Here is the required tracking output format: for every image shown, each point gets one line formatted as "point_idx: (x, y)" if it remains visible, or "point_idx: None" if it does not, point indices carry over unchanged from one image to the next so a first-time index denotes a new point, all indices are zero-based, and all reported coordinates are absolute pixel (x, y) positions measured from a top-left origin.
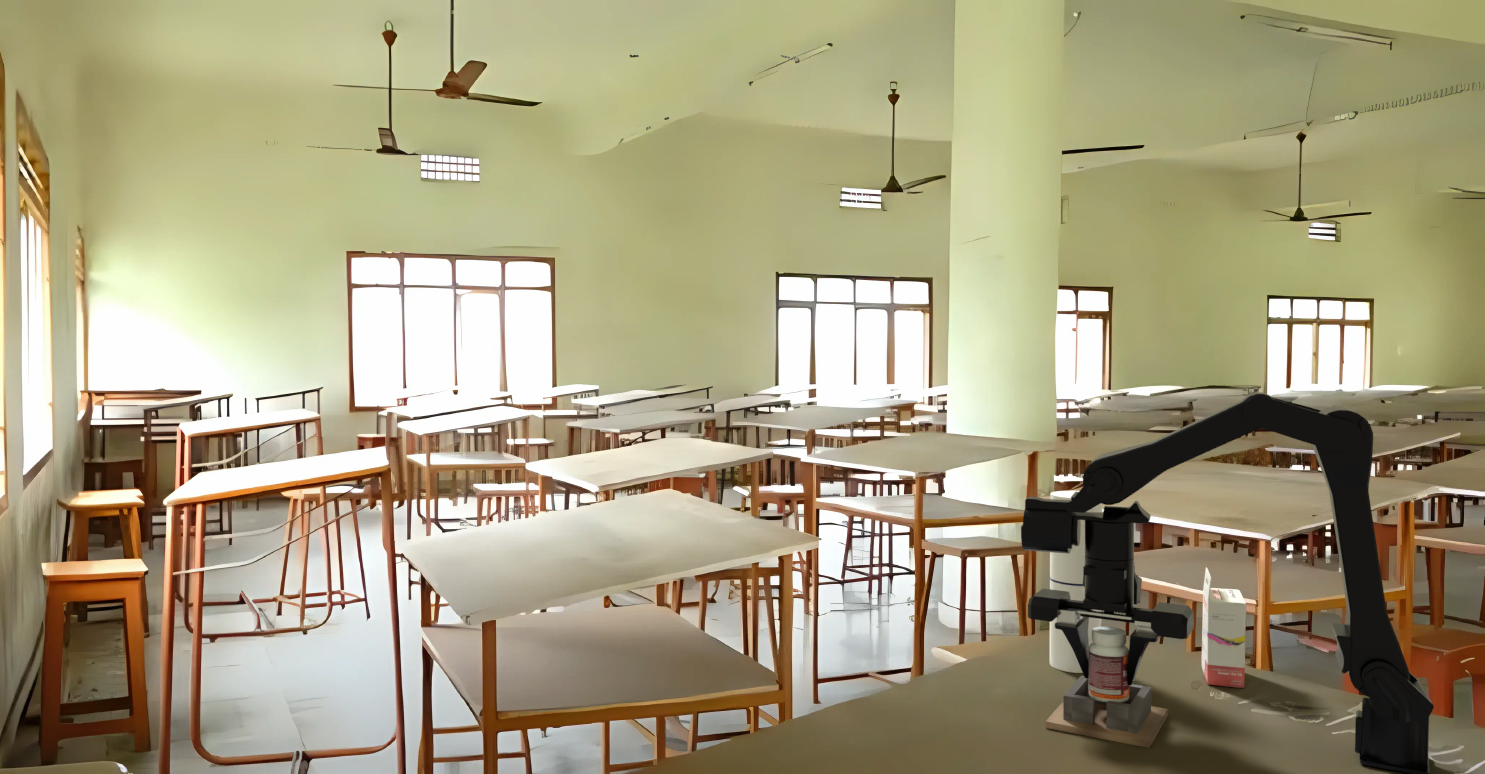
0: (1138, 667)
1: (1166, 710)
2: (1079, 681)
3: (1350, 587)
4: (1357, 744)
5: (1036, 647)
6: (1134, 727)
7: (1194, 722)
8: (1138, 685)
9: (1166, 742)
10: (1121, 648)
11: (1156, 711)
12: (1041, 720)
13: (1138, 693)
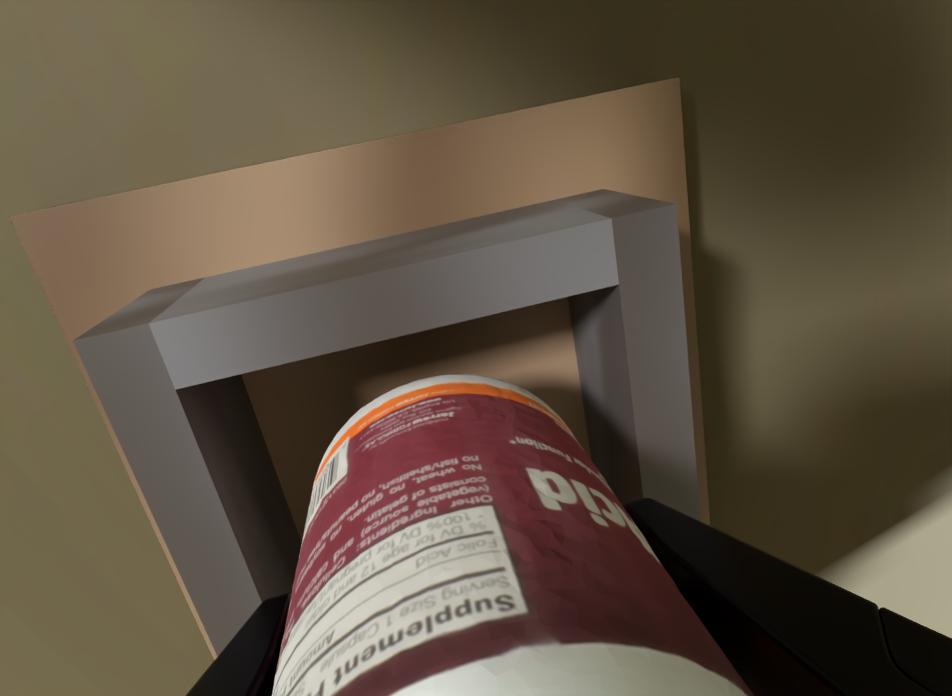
0: (763, 555)
1: (677, 114)
2: (171, 488)
3: None
4: None
5: None
6: None
7: (808, 96)
8: (579, 236)
9: (742, 460)
10: None
11: (632, 178)
12: (172, 636)
13: (638, 412)
